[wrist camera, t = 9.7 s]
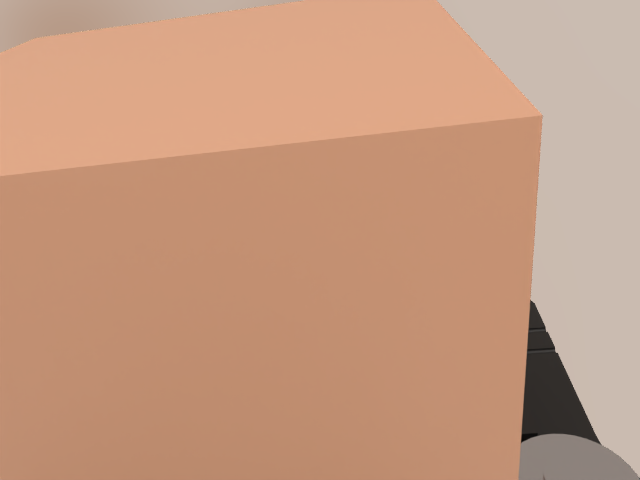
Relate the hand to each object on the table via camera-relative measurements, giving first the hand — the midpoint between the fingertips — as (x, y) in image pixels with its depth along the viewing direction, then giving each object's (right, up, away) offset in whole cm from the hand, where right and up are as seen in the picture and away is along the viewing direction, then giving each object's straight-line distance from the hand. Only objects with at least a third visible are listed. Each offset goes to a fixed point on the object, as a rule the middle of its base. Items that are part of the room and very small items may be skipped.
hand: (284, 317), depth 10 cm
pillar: (+1, -7, +1) cm, 7 cm away
